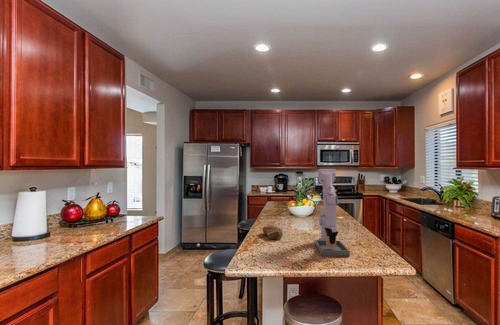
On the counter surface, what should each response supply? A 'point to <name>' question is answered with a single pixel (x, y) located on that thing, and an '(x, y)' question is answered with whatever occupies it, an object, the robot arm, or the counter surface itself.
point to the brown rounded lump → (273, 232)
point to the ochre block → (329, 242)
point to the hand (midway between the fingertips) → (331, 242)
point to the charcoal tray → (332, 249)
